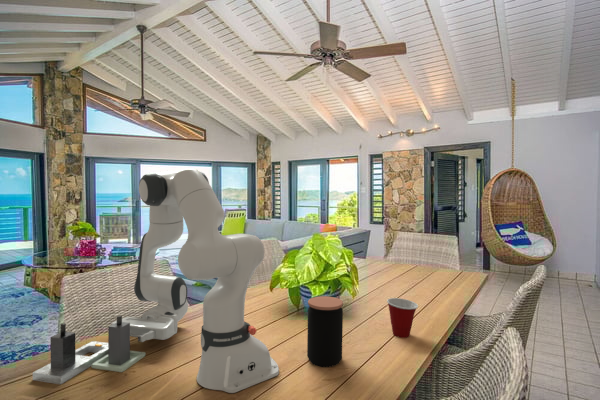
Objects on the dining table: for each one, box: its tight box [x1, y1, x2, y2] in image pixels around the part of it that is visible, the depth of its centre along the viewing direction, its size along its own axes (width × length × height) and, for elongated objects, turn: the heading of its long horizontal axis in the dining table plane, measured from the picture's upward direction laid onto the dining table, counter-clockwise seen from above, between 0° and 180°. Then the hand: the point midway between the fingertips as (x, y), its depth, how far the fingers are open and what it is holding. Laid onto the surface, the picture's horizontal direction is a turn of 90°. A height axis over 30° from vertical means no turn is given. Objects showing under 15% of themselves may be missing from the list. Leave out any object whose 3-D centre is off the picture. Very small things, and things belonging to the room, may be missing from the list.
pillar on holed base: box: [32, 322, 108, 385], centre depth 101 cm, size 20×9×14 cm, turn 168°
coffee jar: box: [306, 295, 344, 368], centre depth 107 cm, size 11×11×18 cm
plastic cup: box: [386, 297, 419, 339], centre depth 126 cm, size 11×11×12 cm
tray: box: [91, 350, 146, 373], centre depth 103 cm, size 10×10×2 cm
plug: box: [107, 315, 131, 366], centre depth 103 cm, size 4×4×13 cm
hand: (126, 337), depth 106 cm, fingers open, 8 cm apart
